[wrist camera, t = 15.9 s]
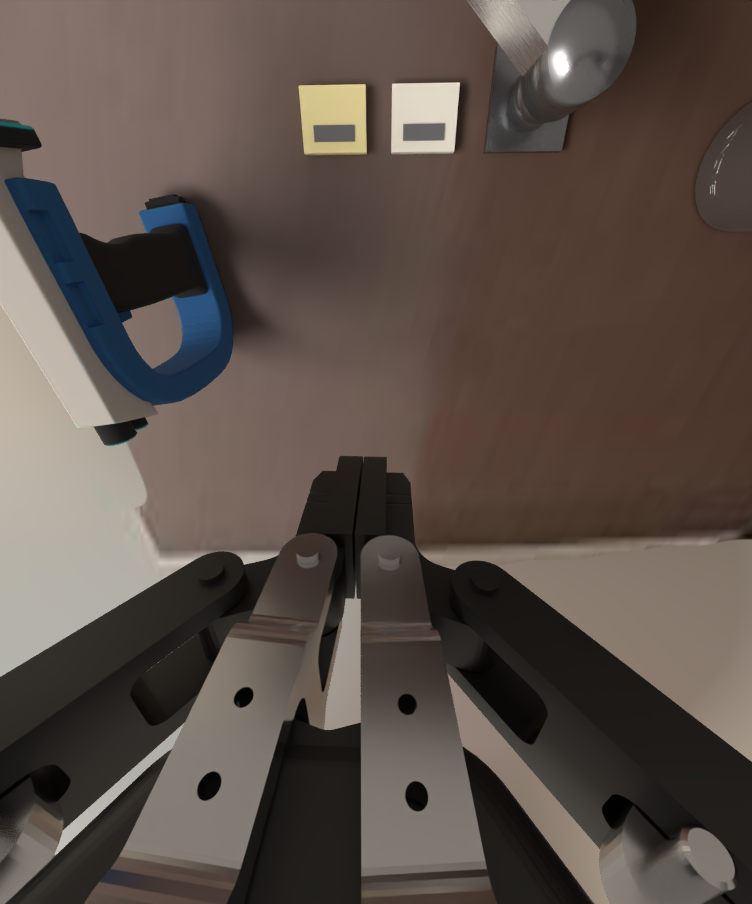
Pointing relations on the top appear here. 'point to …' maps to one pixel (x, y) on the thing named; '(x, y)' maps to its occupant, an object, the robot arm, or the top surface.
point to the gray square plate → (516, 116)
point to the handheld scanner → (106, 298)
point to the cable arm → (561, 48)
